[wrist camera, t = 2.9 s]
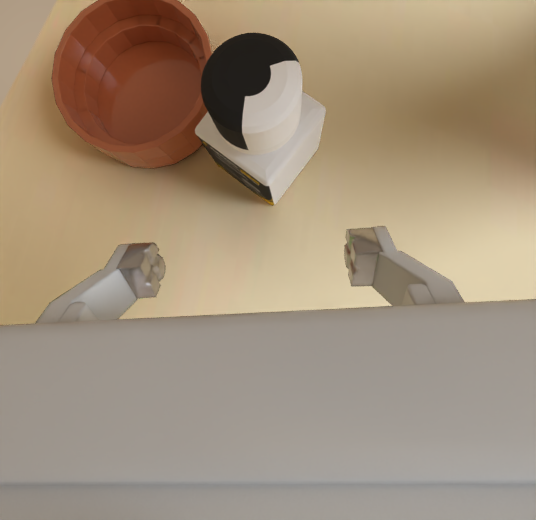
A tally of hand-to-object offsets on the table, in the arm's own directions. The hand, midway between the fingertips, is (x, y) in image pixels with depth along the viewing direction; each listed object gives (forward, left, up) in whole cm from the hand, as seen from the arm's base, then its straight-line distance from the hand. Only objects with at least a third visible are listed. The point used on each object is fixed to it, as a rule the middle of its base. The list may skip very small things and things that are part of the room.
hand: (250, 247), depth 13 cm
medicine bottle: (-7, -7, -16) cm, 19 cm away
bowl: (-4, -20, -15) cm, 25 cm away
